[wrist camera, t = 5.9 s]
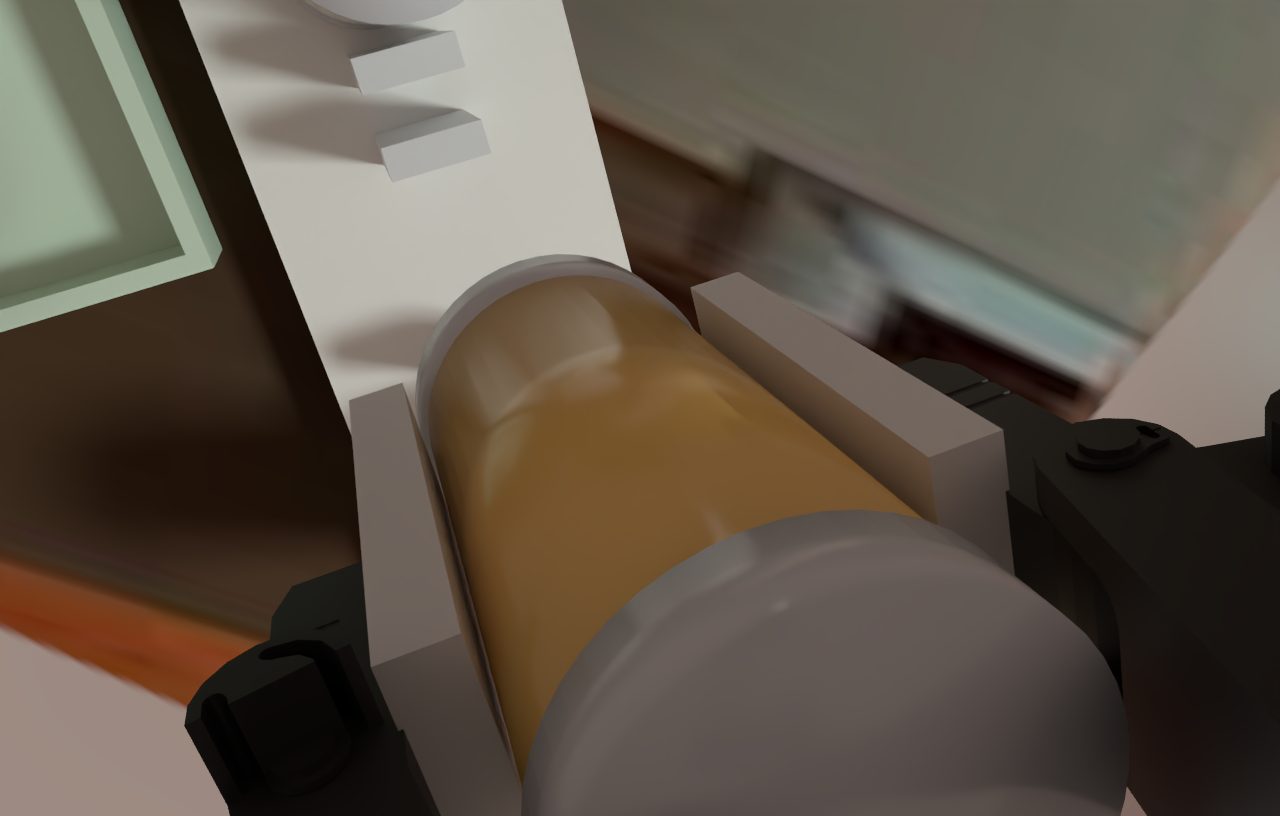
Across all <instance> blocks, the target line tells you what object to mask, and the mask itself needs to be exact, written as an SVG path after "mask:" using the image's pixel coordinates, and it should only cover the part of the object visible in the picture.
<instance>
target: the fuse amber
mask: <svg viewBox="0 0 1280 816" xmlns="http://www.w3.org/2000/svg"><path fill="white" fill-rule="evenodd" d="M415 407H416V414H417V421H418V426H419V430H420V432H421V435H422V438H423V441H424V443H425V446H426V449H427V452H428V454H429V457H430V460H431V462H432V465H433V468H434V471H435V473H436V476H437V479H438V482H439V484H440V487H441V490H442V491H443V493H444V497H445V501H446V505H447V508H448V512H449V516H450V520H451V523H452V527H453V531H454V535H455V538H456V542H457V546H458V550H459V553H460V557H461V561H462V565H463V568H464V572H465V576H466V579H467V583H468V587H469V591H470V594H471V598H472V602H473V606H474V609H475V613H476V617H477V621H478V624H479V628H480V632H481V636H482V639H483V643H484V647H485V651H486V654H487V658H488V662H489V666H490V669H491V673H492V677H493V681H494V684H495V688H496V692H497V696H498V699H499V703H500V707H501V711H502V714H503V718H504V722H505V726H506V729H507V733H508V737H509V741H510V744H511V748H512V752H513V756H514V759H515V763H516V767H517V771H518V774H519V778H520V782H521V785H522V807H521V816H1120V815H1121V811H1122V807H1123V804H1124V800H1125V794H1126V787H1127V781H1128V774H1129V750H1130V738H1129V731H1128V724H1127V716H1126V710H1125V706H1124V703H1123V700H1122V697H1121V694H1120V690H1119V687H1118V684H1117V681H1116V679H1115V678H1114V676H1113V674H1112V672H1111V670H1110V668H1109V666H1108V664H1107V662H1106V660H1105V658H1104V657H1103V655H1102V654H1101V653H1100V651H1099V650H1098V649H1097V648H1096V646H1095V645H1094V644H1093V642H1092V641H1091V640H1090V639H1089V637H1088V636H1087V635H1086V634H1085V633H1084V632H1083V631H1082V630H1081V629H1080V628H1078V627H1077V626H1076V625H1075V624H1074V623H1073V622H1072V621H1070V620H1069V619H1068V618H1067V617H1066V616H1065V615H1064V614H1062V613H1061V612H1060V611H1059V610H1057V609H1056V608H1055V607H1054V606H1052V605H1051V604H1050V603H1049V602H1047V601H1046V600H1045V599H1044V598H1042V597H1041V596H1040V595H1039V594H1037V593H1036V592H1035V591H1033V590H1032V589H1031V588H1030V587H1028V586H1027V585H1026V584H1025V583H1023V582H1022V581H1021V580H1020V579H1018V578H1017V577H1016V576H1015V575H1013V574H1012V573H1011V572H1010V571H1008V570H1007V569H1006V568H1005V567H1003V566H1002V565H1001V564H1000V563H998V562H997V561H996V560H995V559H993V558H992V557H991V556H989V555H988V554H987V553H986V552H984V551H983V550H982V549H981V548H979V547H978V546H977V545H975V544H973V543H972V542H970V541H968V540H967V539H965V538H963V537H962V536H960V535H958V534H957V533H955V532H954V531H952V530H949V529H946V528H944V527H941V526H939V525H936V524H934V523H931V522H929V521H926V520H924V519H923V518H922V517H921V516H920V515H918V514H917V513H916V512H915V511H914V510H912V509H911V508H910V507H909V506H907V505H906V504H905V503H904V502H903V501H901V500H900V499H899V498H898V497H896V496H895V495H894V494H893V493H892V492H890V491H889V490H888V489H887V488H886V487H884V486H883V485H882V484H881V483H879V482H878V481H877V480H876V479H875V478H873V477H872V476H871V475H870V474H868V473H867V472H866V471H865V470H864V469H862V468H861V467H860V466H859V465H858V464H856V463H855V462H854V461H853V460H851V459H850V458H849V457H848V456H847V455H845V454H844V453H843V452H842V451H840V450H839V449H838V448H837V447H836V446H834V445H833V444H832V443H831V442H830V441H828V440H827V439H826V438H825V437H823V436H822V435H821V434H820V433H819V432H817V431H816V430H815V429H814V428H812V427H811V426H810V425H809V424H808V423H806V422H805V421H804V420H803V419H802V418H800V417H799V416H798V415H797V414H795V413H794V412H793V411H792V410H791V409H789V408H788V407H787V406H786V405H784V404H783V403H782V402H781V401H780V400H778V399H777V398H776V397H775V396H774V395H772V394H771V393H770V392H769V391H767V390H766V389H765V388H764V387H763V386H761V385H760V384H759V383H758V382H756V381H755V380H754V379H753V378H752V377H750V376H749V375H748V374H747V373H746V372H744V371H743V370H742V369H741V368H739V367H738V366H737V365H736V364H735V363H733V362H732V361H731V360H730V359H728V358H727V357H726V356H725V355H724V354H722V353H721V352H720V351H719V350H718V349H716V348H715V347H714V346H713V345H711V344H710V343H709V342H708V341H707V340H705V339H704V338H703V337H702V336H701V335H699V334H698V333H697V332H696V331H694V329H693V328H692V326H691V325H690V323H689V321H688V320H687V319H686V318H685V317H684V315H683V314H682V313H681V312H680V311H679V310H678V309H677V308H676V306H674V305H673V304H672V303H671V302H670V301H669V300H667V299H666V298H665V297H664V296H663V295H661V294H660V293H659V292H658V291H656V290H655V289H654V288H653V287H651V286H650V285H649V284H648V283H646V282H645V281H644V280H643V279H641V278H639V277H638V276H636V275H635V274H633V273H632V272H630V271H628V270H627V269H624V268H622V267H620V266H618V265H616V264H613V263H611V262H608V261H604V260H601V259H598V258H594V257H588V256H582V255H573V254H554V255H545V256H537V257H533V258H529V259H525V260H521V261H517V262H515V263H512V264H510V265H507V266H505V267H502V268H500V269H498V270H496V271H494V272H492V273H491V274H489V275H487V276H485V277H483V278H482V279H481V280H479V281H478V282H476V283H475V284H474V285H472V286H471V287H470V288H468V289H467V290H466V291H465V292H464V293H463V294H462V295H461V296H460V297H459V298H457V299H456V300H455V301H454V302H453V303H452V305H451V306H450V307H449V308H448V310H447V311H446V312H445V313H444V315H443V316H442V317H441V318H440V320H439V322H438V323H437V325H436V327H435V328H434V330H433V331H432V333H431V335H430V337H429V340H428V342H427V344H426V346H425V348H424V351H423V354H422V357H421V361H420V364H419V368H418V373H417V380H416V387H415Z"/></svg>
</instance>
